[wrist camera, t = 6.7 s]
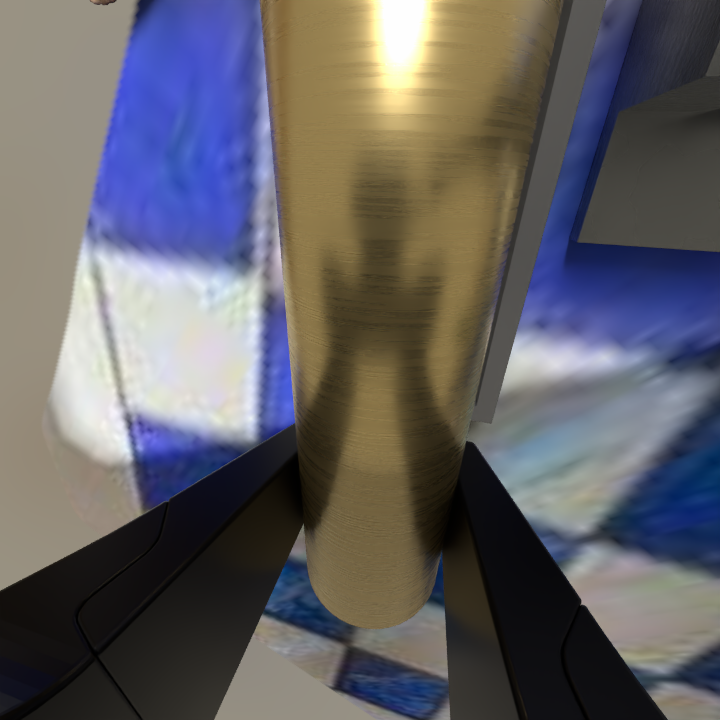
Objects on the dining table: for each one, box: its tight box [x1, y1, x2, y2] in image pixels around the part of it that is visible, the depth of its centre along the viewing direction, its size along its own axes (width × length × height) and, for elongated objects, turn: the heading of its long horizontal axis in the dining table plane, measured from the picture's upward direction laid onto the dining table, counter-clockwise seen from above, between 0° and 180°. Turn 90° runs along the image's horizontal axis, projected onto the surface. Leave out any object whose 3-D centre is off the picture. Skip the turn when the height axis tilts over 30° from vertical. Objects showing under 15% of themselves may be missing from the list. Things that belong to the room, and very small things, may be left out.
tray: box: [471, 0, 606, 424], centre depth 13 cm, size 8×19×2 cm, turn 177°
